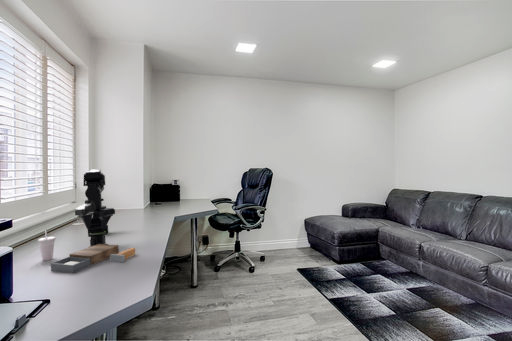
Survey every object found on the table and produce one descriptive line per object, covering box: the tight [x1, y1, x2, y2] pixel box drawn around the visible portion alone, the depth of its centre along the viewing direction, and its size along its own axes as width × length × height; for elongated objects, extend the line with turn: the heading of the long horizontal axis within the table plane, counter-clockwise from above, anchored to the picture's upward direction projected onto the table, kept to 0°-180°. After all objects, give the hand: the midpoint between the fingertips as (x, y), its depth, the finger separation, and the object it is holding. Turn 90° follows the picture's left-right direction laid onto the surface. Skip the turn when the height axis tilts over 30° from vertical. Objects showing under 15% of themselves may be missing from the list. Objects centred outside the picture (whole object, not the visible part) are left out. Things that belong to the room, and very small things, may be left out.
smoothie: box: [37, 229, 56, 261], centre depth 120 cm, size 6×6×14 cm
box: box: [50, 256, 92, 274], centre depth 108 cm, size 8×12×3 cm, turn 74°
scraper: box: [109, 247, 136, 263], centre depth 119 cm, size 10×7×3 cm
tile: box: [65, 261, 80, 265], centre depth 108 cm, size 5×5×2 cm
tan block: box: [68, 243, 120, 266], centre depth 119 cm, size 15×12×4 cm
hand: (95, 229), depth 125 cm, fingers open, 9 cm apart
